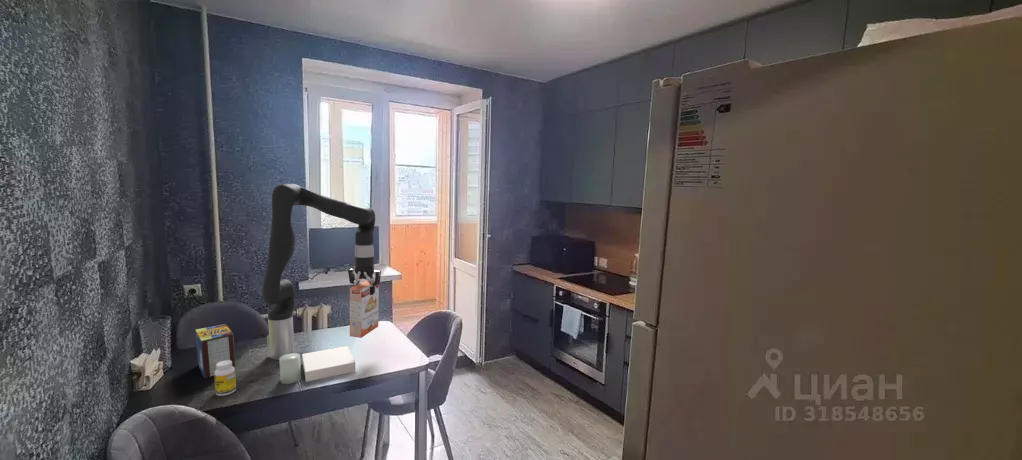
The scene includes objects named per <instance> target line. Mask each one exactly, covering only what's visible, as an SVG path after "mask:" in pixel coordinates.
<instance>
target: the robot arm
mask: <svg viewBox="0 0 1022 460" xmlns="http://www.w3.org/2000/svg"><path fill="white" fill-rule="evenodd" d="M271 195H272V196H271V211H272V213H271V215H272V216H271V226H270V227H271V228H270V237H269V242H268V243H269V245H268V255H267V263H266V270H265V275H264V279H263V284H262V289H261V296H262V299H263V301H264V302H265V304H266V305H274V306H273V307H272V308H271V309H270V310H269V311H268V313H267V321H268V323H267V324H268V325H267V326H268V335H267V336H266V342H267V344H266V346H267V356H268V358H269V359H272V360H279V358H280V357H281V356H283V355H286V354H290V353H295V339H294V336H295V335H294V317H293V316H294V315H293V313H294V311H295V288H294V285H293V283H292V282H291V281H290V280H289V279H285V278H283V279H282V275H283V273H284V271H285V269H286V268H287V266H288V264H289V263H290V261H291V259H292V258H293V256H294V252H295V245H296V236H295V235H296V234H295V231H294V228H293V226H292V211H293V207H294V206H304V207H305V206H306V207H310V208H314V209H316V210H318V211H320V212H322V213H324V214H326V215H328V216H331V217H336V218H338V219H343V220H345V221H347V222H350V223H352V224H355V225H358V226H357V230H356V231H355V235H354V237H355V238H354V240H355V242H354V243H355V246H354V266H355V267H354V268H349V269H348V270H347V271H348V272H347V273H348V280H349V283H350V284H353V286H356V285H358V284H360V282H361V280H362V279H363V280H366V281H368V282H369V284H370V286H371V287H370V295H373V294H374V293H375V286H376V285H378V284H379V285H380V284H381V275H382V271H381V270H375V268H374V267H375V249H374V248H375V247H374V231H375V224H376V214H375V211H374V209H373V208H371V207H369V206H364V207H359V206H355V205H352V204H351V203H350V202H347V201H344V200H340V199H337V198H333V197H329V196H326V195H323V194H320V193H317V192H315V191H312V190H309V189H307V188H305V187H303V186H300V185H298V184H295V183H284V184H279V185H277V186H276V187H275V188H274V189H273V190H272V194H271ZM355 274H356V276H355ZM373 275H374V276H375V277H374V276H373Z"/></svg>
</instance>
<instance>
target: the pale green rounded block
mask: <svg viewBox="0 0 1022 460" xmlns="http://www.w3.org/2000/svg"><path fill="white" fill-rule="evenodd" d="M278 362H279V376H280V377H279V379H280V383H281V384H285V385H289V384H293V383H297V382H298V381H300V380H301V379H302V372H301V371H302V369H301V368H302V367H301V355H300V353H297V352H296V353H295V352H294V353H290V354H286V355H283V356H281V357H280V358H279V359H278Z"/></svg>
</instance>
